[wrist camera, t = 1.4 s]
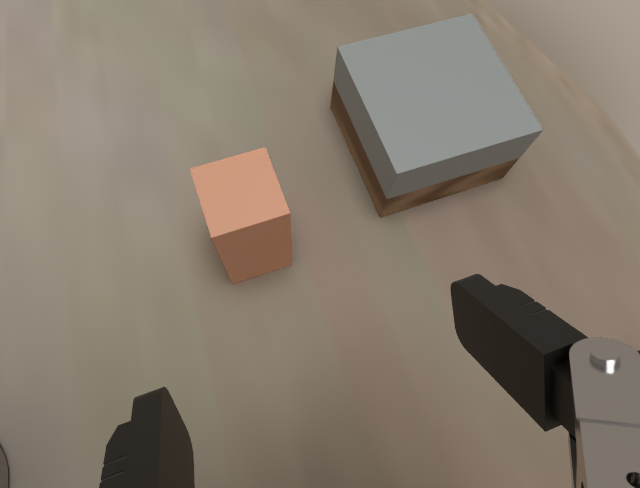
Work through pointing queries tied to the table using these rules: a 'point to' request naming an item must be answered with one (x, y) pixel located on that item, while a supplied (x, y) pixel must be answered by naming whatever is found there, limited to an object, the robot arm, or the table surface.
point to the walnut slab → (410, 198)
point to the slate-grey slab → (432, 104)
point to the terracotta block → (245, 214)
